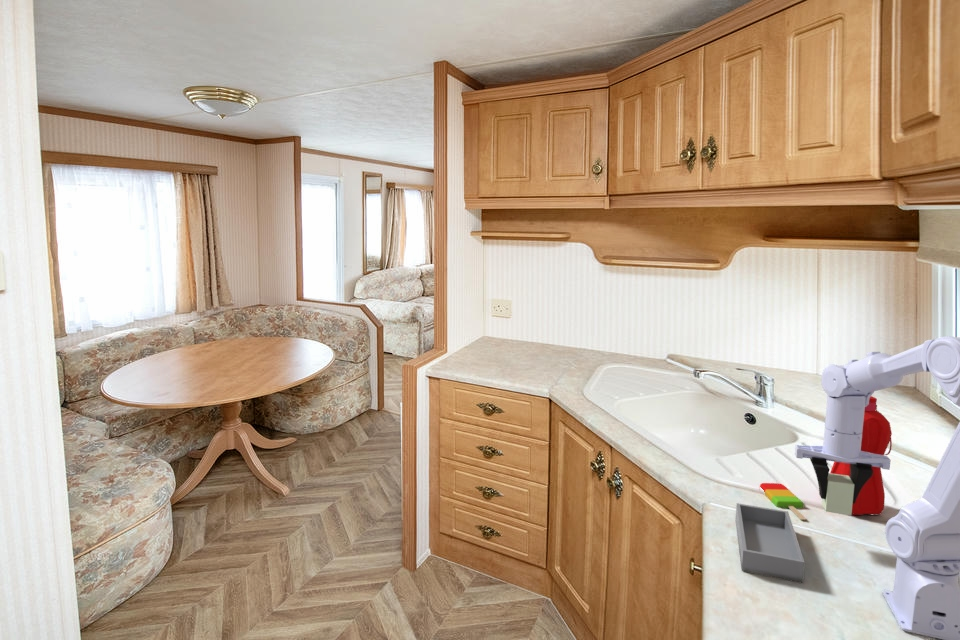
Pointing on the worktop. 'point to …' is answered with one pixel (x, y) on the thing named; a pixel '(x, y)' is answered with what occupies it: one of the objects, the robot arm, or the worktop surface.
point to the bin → (768, 543)
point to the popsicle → (782, 497)
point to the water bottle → (874, 442)
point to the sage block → (839, 494)
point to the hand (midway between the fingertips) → (836, 498)
